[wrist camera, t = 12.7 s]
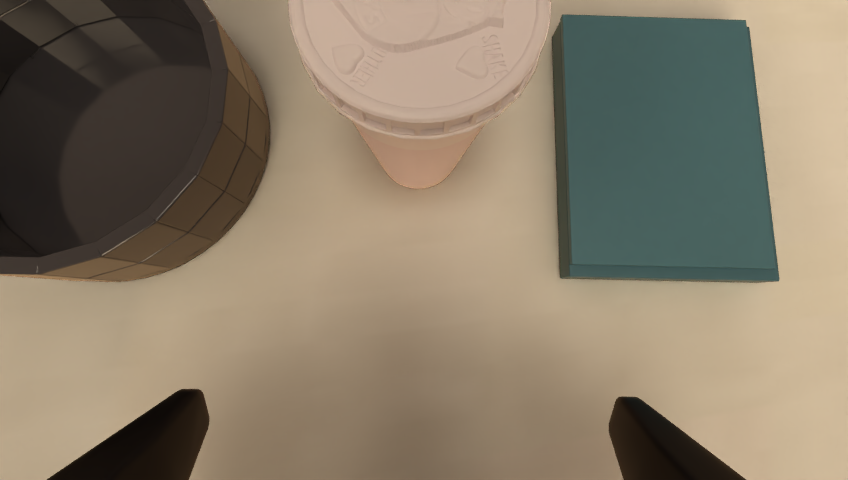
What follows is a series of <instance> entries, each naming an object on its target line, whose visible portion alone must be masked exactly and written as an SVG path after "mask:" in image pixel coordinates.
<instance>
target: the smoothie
mask: <svg viewBox="0 0 848 480" xmlns="http://www.w3.org/2000/svg"><path fill="white" fill-rule="evenodd" d="M288 8H289V19H290V25H291V29H292V33H293V37H294V40H295V42H296V45H297V47H298V50H299V52H300V55H301V60H302V64H303V66H304V68H305V69H306V71H307V73H308V75H309V77H310V78H311V80H312V82H313V84H314V86H315V87H316V89H317V91H318V92H319V93H320V94H321V95H322V96H323V97H324V98H325V99H326V100H327V101H328V102H329V103H330V104H331V105H332V106H333V107H334V108H335V109H336V110H337V111H338V112H339V113H340V114H342V115H343V116H345V117H347V118H348V119H350V120H351V121H352V122H353V124H354V125H355V127H356V128H357V130H358V131H359V133H360V134H361V136H362V137H363V139H364V140H365V142H366V143H367V145H368V146H369V148H370V149H371V151H372V152H373V154H374V155H375V157H376V158H377V160H378V161H379V163H380V164H381V166H382V167H383V169H384V170H385V172H386V173H387V174H388V176H389V177H390V178H391V179H393V180H394V181H395V182H397V183H398V184H400V185H402V186H405V187H408V188H413V189H424V188H429V187H432V186H435V185H437V184H439V183H440V182H442V181H443V180H444V179H445V178H446V177H448V175H449V174H450V173H451V171H452V170H453V169H454V167H455V166H456V164H457V163H458V162H459V160H460V159H461V157H462V156H463V154H464V153H465V152H466V150H467V149H468V147H469V146H470V145H471V143H472V142H473V140H474V139H475V137H476V136H477V135H478V133H479V132H480V130H481V129H482V128H483V126H484V125H485V123H487V122H489V121H491V120H493V119H495V118H497V117H498V116H499V115H500V114H501V113H502V112H503V111H504V110H505V109H506V108H507V107H509V106H510V105H511V104H512V103H513V102H514V101H515V100H516V99H517V98H518V97H519V96H520V95H521V93H522V92H523V90H524V88H525V87H526V85H527V84H528V82H529V80H530V79H531V77H532V75H533V74H534V72H535V70H536V67H537V64H538V60H539V56H540V53H541V51H542V48H543V46H544V43H545V41H546V37H547V34H548V30H549V24H550V17H551V0H288Z"/></svg>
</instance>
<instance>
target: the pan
mask: <svg viewBox="0 0 848 480" xmlns="http://www.w3.org/2000/svg"><path fill="white" fill-rule="evenodd" d="M269 131H270V126H269V118H268V110H267V106H266V102H265V99H264V95H263V92H262V90H261V87H260V85H259V83H258V80H257V78H256V76H255V74H254V73H253V71H252V70H251V68H250V67H249V65H248V64H247V62H246V61H245V59H244V58H243V57H242V55H241V54H240V52H239V51H238V49H237V48H236V46H235V45H234V43H233V42H232V41H231V39H230V38H229V36H228V35H227V33H226V32H225V30H224V29H223V28H222V26H221V25H220V23H219V22H218V20H217V19H216V18H215V16H214V15H213V13H212V12H211V10H210V9H209V8H208V6H207V5H206V3H205V2H204V0H0V275H2V276H15V277H29V278H43V279H57V280H70V281H100V282H121V281H130V280H136V279H142V278H147V277H150V276H153V275H157V274H160V273H163V272H166V271H169V270H171V269H173V268H175V267H178V266H180V265H182V264H184V263H186V262H188V261H189V260H191V259H193V258H195V257H196V256H198V255H200V254H201V253H203V252H204V251H205V250H207V249H208V248H209V247H211V246H212V245H213V244H214V243H216V242H217V241H218V240H219V239H220V238H221V237H222V236H223V235H224V234H225V233H226V232H227V231H228V230H229V229H230V228H231V227H232V226H233V225H234V224H235V223H236V221H237V220H238V219H239V217H240V216H241V215H242V214H243V212H244V211H245V209H246V208H247V206H248V204H249V203H250V201H251V200H252V198H253V196H254V194H255V192H256V190H257V187H258V185H259V183H260V181H261V178H262V175H263V172H264V168H265V165H266V162H267V155H268V149H269Z"/></svg>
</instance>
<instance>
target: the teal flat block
mask: <svg viewBox="0 0 848 480" xmlns="http://www.w3.org/2000/svg"><path fill="white" fill-rule="evenodd" d="M552 46H553V76H554V106H555V136H556V166H557V196H558V225H559V255H560V278H566V279H612V280H657V281H703V282H749V283H759V282H774V281H779V272H778V264H777V256H776V247H775V239H774V231H773V222H772V214H771V206H770V197H769V189H768V181H767V172H766V164H765V156H764V147H763V139H762V131H761V122H760V114H759V106H758V97H757V89H756V81H755V72H754V64H753V56H752V48H751V39H750V31H749V27H747V26H746V20H722V19H690V18H658V17H626V16H594V15H562V17H561V19H560V23H559V25H558V27H557V29H556V31H555V33H554V35H553V37H552Z"/></svg>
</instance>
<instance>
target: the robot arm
mask: <svg viewBox="0 0 848 480" xmlns="http://www.w3.org/2000/svg"><path fill="white" fill-rule="evenodd" d="M208 426H209V414H208V410H207V406H206V402H205V398H204V395H203V392H202V391H201V390H199V389H181V390H179V391H177V392H175V393H174V394H172V395H171V396H169V397H168V398H166V399H165V400H164V401H162V402H161V403H159V404H158V405H156V406H155V407H153V408H152V409H150V410H149V411H147V412H146V413H144V414H143V415H141V416H140V417H138V418H137V419H135V420H134V421H133V422H131V423H130V424H128V425H127V426H125V427H124V428H122V429H121V430H119V431H118V432H116V433H115V434H113V435H112V436H110V437H109V438H107V439H106V440H104V441H103V442H102V443H100V444H99V445H97V446H96V447H94V448H93V449H91V450H90V451H88V452H87V453H85V454H84V455H82V456H81V457H79V458H78V459H76V460H75V461H73V462H72V463H70V464H69V465H68V466H66V467H65V468H63V469H62V470H60V471H59V472H57V473H56V474H54V475H53V476H51V477H50V478H48V479H47V480H189V477H190V475H191V472H192V469H193V467H194V464H195V461H196V459H197V456H198V453H199V451H200V448H201V446H202V443H203V440H204V438H205V435H206V432H207V430H208ZM609 434H610V437H611V441H612V444H613V447H614V450H615V453H616V457H617V460H618V463H619V466H620V470H621V473H622V476H623V479H624V480H746V479H745V478H743V477H742V476H741V475H739V474H738V473H737V472H735V471H734V470H733V469H732V468H730V467H729V466H728V465H726V464H725V463H724V462H722V461H721V460H720V459H718V458H717V457H716V456H714V455H713V454H712V453H711V452H709V451H708V450H707V449H705V448H704V447H703V446H701V445H700V444H699V443H697V442H696V441H695V440H693V439H692V438H691V437H690V436H688V435H687V434H686V433H684V432H683V431H682V430H680V429H679V428H678V427H676V426H675V425H674V424H673V423H671V422H670V421H669V420H667V419H666V418H665V417H663V416H662V415H661V414H659V413H658V412H657V411H655V410H654V409H653V408H652V407H650V406H649V405H648V404H646V403H645V402H644V401H642V400H641V399H639V398H637V397H618V398H617V399H616V401H615V405H614V408H613V411H612V415H611V418H610V422H609Z"/></svg>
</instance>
